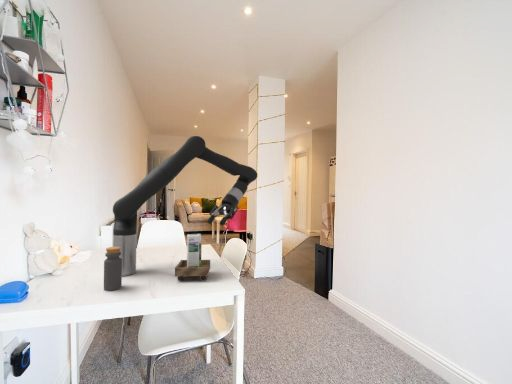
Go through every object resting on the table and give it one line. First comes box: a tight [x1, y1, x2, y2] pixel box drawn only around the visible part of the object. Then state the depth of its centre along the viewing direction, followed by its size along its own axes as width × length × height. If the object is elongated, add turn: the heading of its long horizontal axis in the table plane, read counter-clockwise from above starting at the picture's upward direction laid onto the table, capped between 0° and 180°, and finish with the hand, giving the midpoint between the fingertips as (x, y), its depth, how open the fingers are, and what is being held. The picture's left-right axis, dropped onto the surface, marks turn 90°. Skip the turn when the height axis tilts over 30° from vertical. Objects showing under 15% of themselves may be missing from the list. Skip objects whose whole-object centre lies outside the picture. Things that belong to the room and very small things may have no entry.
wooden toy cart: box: [174, 259, 211, 282], centre depth 110 cm, size 13×13×6 cm
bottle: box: [103, 246, 123, 292], centre depth 97 cm, size 6×6×15 cm
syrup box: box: [186, 233, 202, 268], centre depth 111 cm, size 6×6×14 cm
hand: (214, 223), depth 119 cm, fingers open, 8 cm apart
